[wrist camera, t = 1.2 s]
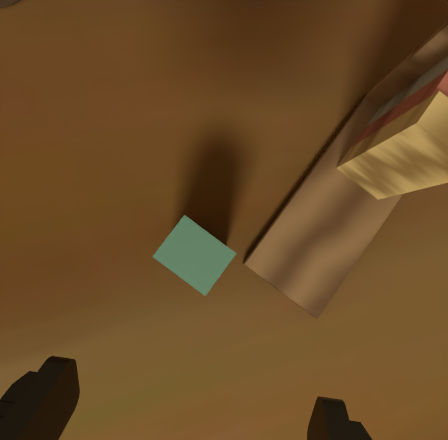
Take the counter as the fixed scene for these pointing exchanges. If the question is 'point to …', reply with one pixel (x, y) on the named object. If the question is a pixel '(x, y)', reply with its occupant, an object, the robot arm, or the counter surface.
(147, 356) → the counter surface
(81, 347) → the counter surface
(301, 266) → the book rack
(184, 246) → the teal book
